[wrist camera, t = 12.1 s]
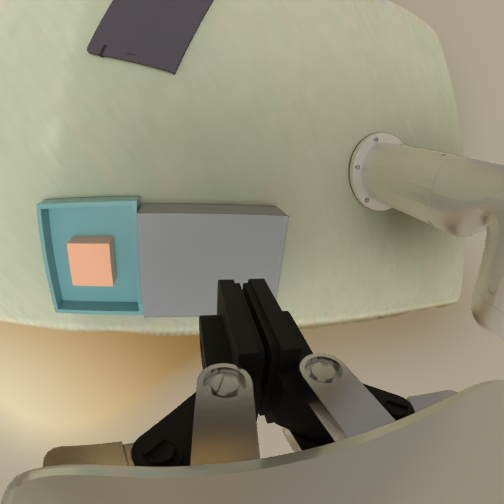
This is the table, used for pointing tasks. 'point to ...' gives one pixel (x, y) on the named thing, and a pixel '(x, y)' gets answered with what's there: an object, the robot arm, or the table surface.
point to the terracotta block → (92, 260)
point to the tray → (92, 224)
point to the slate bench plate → (205, 253)
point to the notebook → (148, 31)
